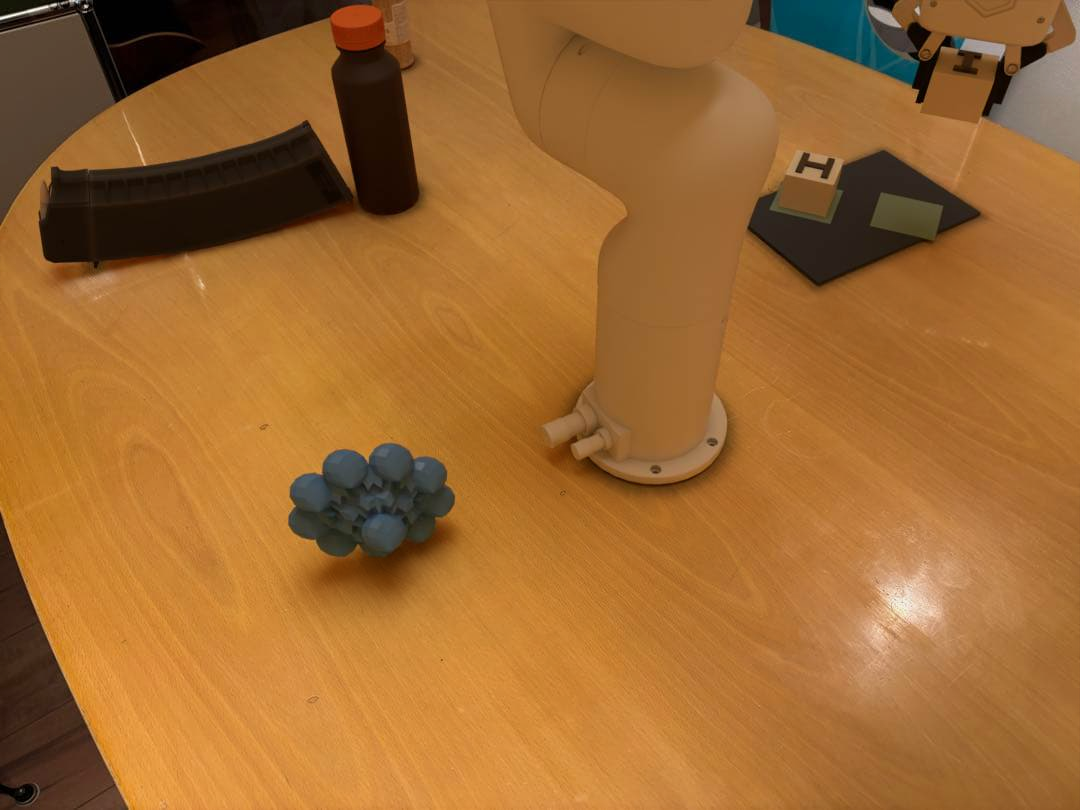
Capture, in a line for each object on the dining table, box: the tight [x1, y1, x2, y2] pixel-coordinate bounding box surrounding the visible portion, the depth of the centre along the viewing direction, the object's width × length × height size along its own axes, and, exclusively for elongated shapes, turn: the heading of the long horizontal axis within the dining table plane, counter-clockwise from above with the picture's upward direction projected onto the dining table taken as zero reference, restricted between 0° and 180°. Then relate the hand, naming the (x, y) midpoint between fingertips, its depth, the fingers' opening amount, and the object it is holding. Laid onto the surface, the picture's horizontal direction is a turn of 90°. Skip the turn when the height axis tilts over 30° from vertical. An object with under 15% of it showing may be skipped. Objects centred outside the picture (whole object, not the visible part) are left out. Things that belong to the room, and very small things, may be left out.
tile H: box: [778, 149, 845, 217], centre depth 91 cm, size 5×5×4 cm
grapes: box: [287, 442, 456, 558], centre depth 60 cm, size 12×7×12 cm, turn 112°
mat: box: [747, 149, 982, 287], centre depth 92 cm, size 22×16×1 cm
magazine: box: [37, 119, 355, 270], centre depth 88 cm, size 17×3×30 cm
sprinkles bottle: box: [371, 0, 415, 70], centre depth 111 cm, size 5×5×13 cm
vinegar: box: [329, 4, 420, 215], centre depth 88 cm, size 7×7×20 cm
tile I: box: [919, 46, 1001, 125], centre depth 78 cm, size 5×5×4 cm
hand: (953, 100), depth 79 cm, fingers closed on tile I, 5 cm apart
